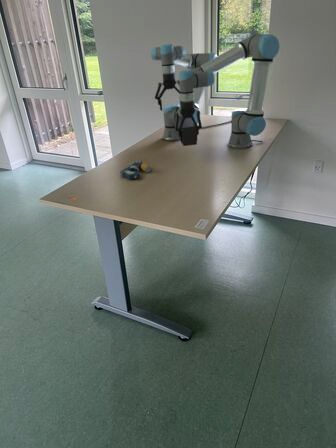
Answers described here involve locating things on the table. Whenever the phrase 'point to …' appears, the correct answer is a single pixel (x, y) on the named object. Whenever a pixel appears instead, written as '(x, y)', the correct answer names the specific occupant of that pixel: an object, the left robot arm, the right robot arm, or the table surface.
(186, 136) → the box
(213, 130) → the table surface
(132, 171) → the spray gun
